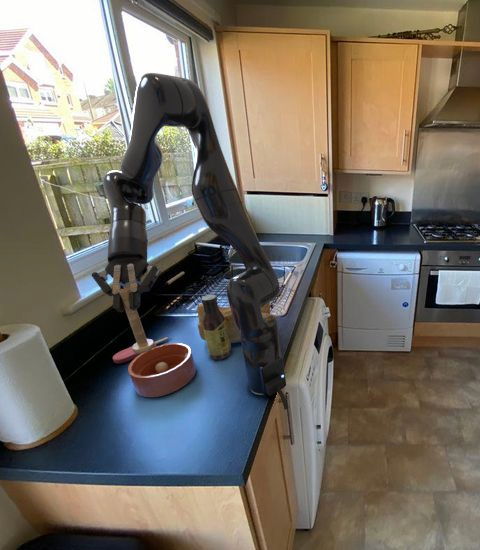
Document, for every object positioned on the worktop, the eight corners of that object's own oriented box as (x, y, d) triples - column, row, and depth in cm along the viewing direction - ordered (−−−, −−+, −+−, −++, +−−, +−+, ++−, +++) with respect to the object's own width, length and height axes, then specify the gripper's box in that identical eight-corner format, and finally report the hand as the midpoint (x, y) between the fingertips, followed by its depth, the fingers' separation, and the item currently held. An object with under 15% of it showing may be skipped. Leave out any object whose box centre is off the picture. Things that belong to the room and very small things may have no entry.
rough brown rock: (282, 321, 114) (277, 284, 109) (272, 345, 98) (265, 302, 93) (219, 325, 113) (211, 287, 108) (198, 349, 97) (188, 307, 92)
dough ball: (170, 371, 87) (167, 363, 86) (158, 376, 85) (155, 368, 84) (167, 366, 89) (164, 358, 88) (155, 371, 87) (152, 363, 85)
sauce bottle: (229, 359, 93) (216, 302, 85) (207, 362, 92) (192, 303, 84) (234, 346, 98) (223, 292, 91) (213, 348, 98) (200, 293, 90)
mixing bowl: (204, 378, 85) (199, 358, 83) (144, 408, 75) (136, 386, 73) (185, 355, 94) (180, 337, 91) (129, 380, 84) (122, 359, 82)
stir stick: (157, 347, 75) (138, 289, 69) (136, 356, 72) (114, 296, 66) (151, 340, 78) (133, 284, 72) (131, 348, 75) (109, 290, 69)
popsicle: (170, 338, 100) (115, 362, 89) (172, 342, 100) (117, 366, 90) (164, 332, 103) (109, 355, 92) (165, 336, 103) (111, 359, 93)
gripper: (84, 238, 69) (79, 310, 63) (155, 232, 73) (156, 300, 67) (102, 253, 76) (98, 320, 70) (166, 247, 80) (167, 310, 74)
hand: (126, 310), depth 69 cm, fingers closed on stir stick, 2 cm apart
